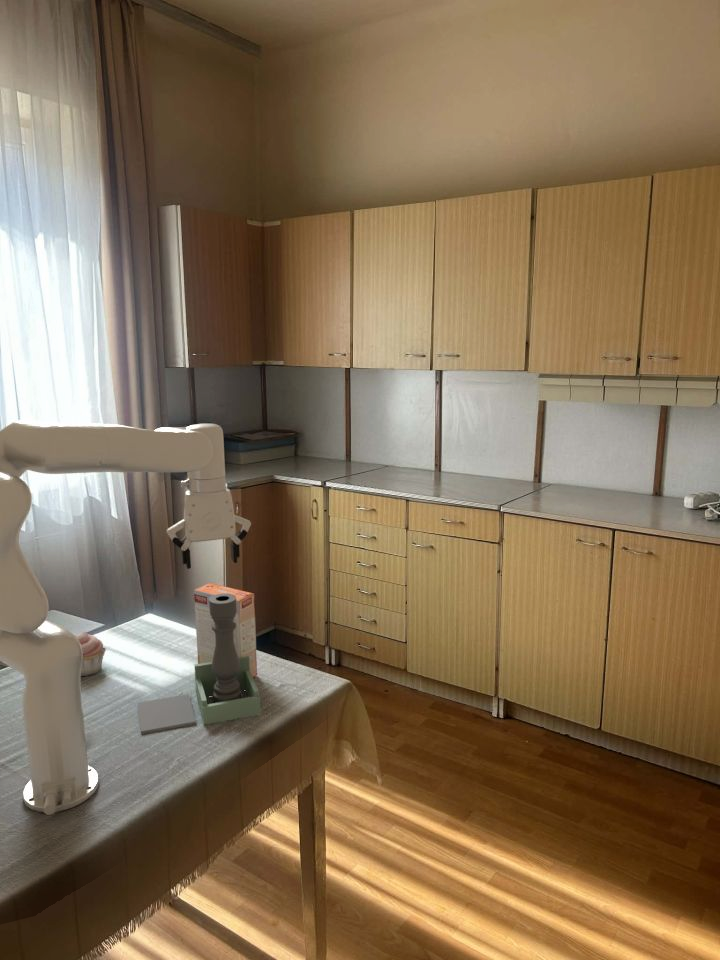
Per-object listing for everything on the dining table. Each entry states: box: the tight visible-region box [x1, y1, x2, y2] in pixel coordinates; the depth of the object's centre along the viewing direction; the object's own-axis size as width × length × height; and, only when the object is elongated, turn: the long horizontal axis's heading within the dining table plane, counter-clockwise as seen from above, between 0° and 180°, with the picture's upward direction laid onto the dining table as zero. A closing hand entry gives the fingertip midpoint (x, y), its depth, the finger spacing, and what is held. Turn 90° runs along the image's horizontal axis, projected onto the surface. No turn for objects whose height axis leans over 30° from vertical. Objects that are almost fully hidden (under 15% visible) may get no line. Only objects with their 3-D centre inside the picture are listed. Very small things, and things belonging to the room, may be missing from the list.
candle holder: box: [209, 593, 243, 704], centre depth 157 cm, size 6×6×25 cm
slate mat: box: [137, 693, 197, 735], centre depth 156 cm, size 12×11×1 cm
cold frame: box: [194, 656, 261, 726], centre depth 159 cm, size 12×12×8 cm
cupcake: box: [76, 631, 107, 677], centre depth 175 cm, size 9×9×10 cm
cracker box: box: [193, 582, 258, 678], centre depth 172 cm, size 14×6×21 cm, turn 58°
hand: (211, 563), depth 153 cm, fingers open, 9 cm apart
